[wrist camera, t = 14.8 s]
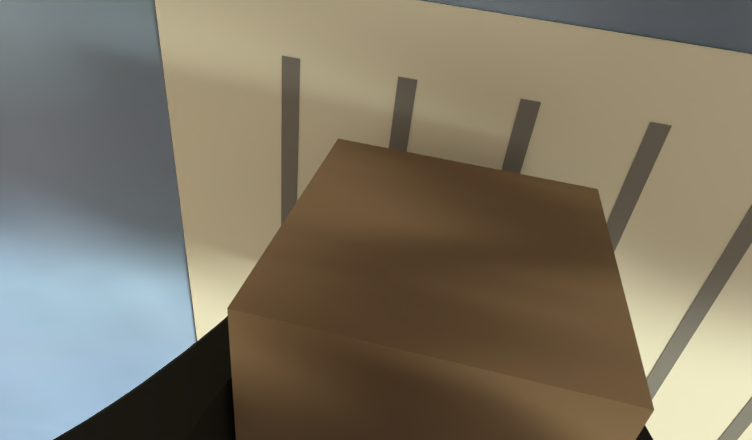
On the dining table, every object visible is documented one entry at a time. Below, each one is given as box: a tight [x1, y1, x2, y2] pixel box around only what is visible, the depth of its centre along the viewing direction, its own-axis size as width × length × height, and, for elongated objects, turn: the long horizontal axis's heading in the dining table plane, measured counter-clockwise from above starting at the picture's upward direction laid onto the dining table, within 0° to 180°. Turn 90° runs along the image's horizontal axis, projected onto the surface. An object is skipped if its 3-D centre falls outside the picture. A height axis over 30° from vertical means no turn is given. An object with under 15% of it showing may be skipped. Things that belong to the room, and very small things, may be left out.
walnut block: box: [227, 139, 654, 440], centre depth 10 cm, size 5×5×5 cm
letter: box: [155, 0, 752, 440], centre depth 14 cm, size 18×13×1 cm
